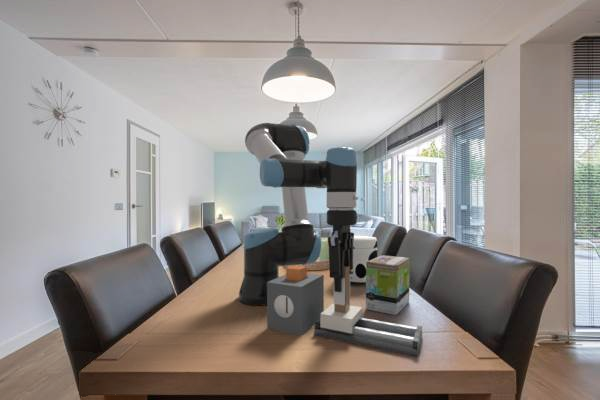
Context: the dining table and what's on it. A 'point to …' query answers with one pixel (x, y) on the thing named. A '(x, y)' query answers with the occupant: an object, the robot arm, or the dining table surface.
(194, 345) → the dining table surface
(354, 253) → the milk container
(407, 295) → the tea box
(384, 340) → the rail track
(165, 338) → the dining table surface
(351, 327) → the carriage
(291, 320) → the gauge cabinet
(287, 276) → the orange cube
